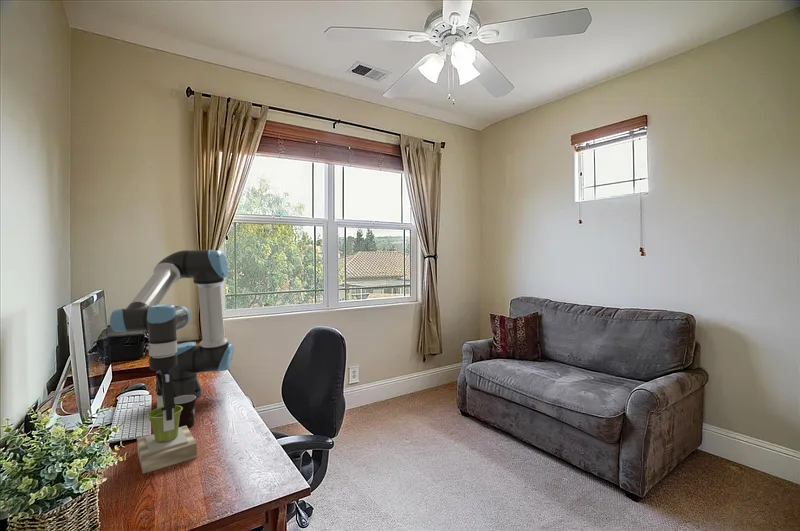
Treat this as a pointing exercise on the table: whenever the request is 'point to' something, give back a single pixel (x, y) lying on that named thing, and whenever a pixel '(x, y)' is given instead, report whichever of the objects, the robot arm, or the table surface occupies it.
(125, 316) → the robot arm
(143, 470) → the wooden stand
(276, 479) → the table surface
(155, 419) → the plant pot
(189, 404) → the coffee mug
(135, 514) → the table surface
